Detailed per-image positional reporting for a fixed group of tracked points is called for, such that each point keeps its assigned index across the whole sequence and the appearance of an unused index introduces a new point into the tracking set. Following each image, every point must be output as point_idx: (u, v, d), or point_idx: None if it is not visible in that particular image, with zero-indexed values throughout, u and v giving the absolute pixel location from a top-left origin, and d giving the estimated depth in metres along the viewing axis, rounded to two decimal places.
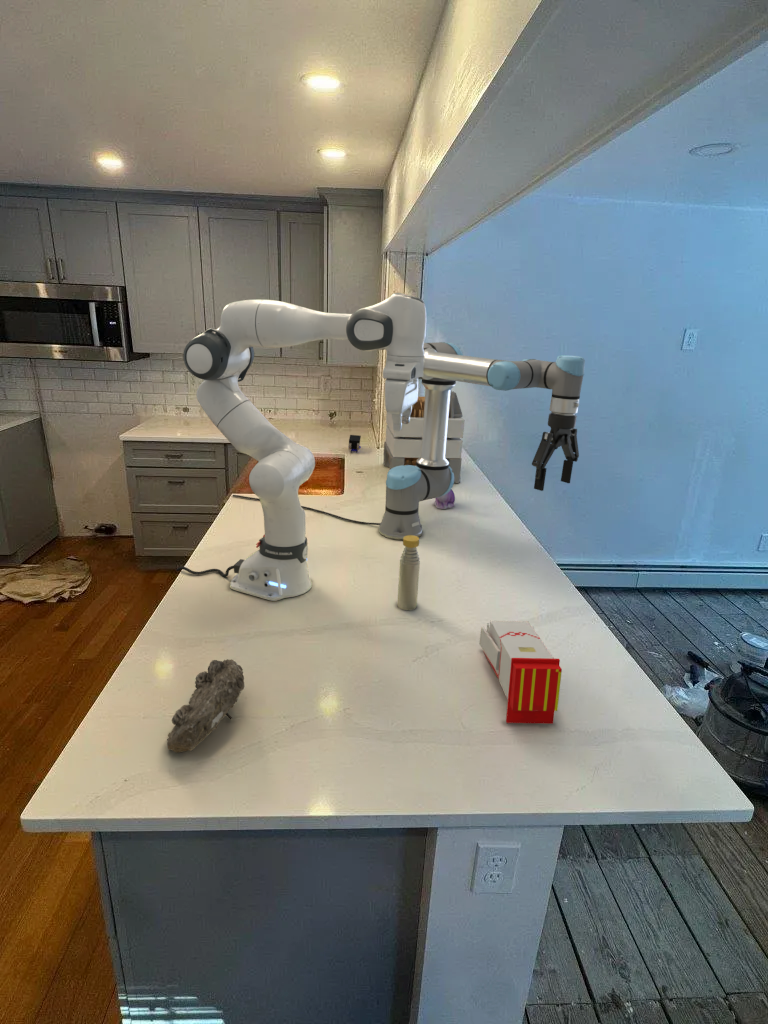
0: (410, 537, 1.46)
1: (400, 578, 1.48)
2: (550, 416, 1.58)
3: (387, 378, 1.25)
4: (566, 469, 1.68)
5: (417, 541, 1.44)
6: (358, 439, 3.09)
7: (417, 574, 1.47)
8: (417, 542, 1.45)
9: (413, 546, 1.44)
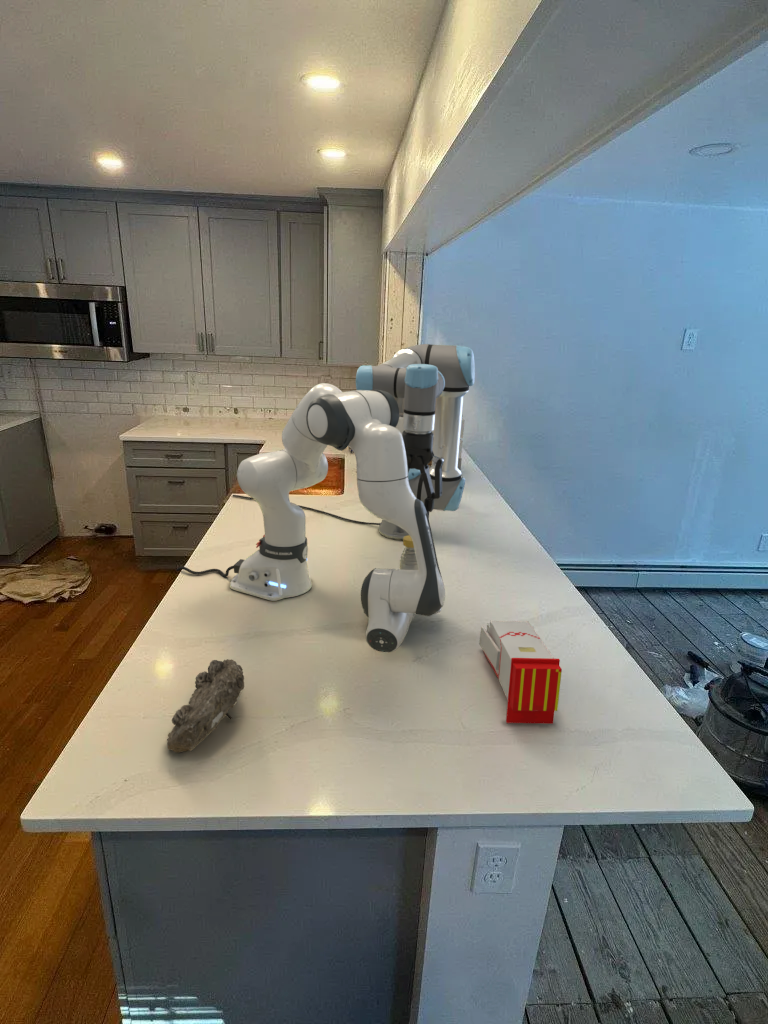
0: (410, 537, 1.46)
1: None
2: (428, 437, 1.34)
3: None
4: None
5: None
6: None
7: None
8: None
9: (413, 546, 1.44)
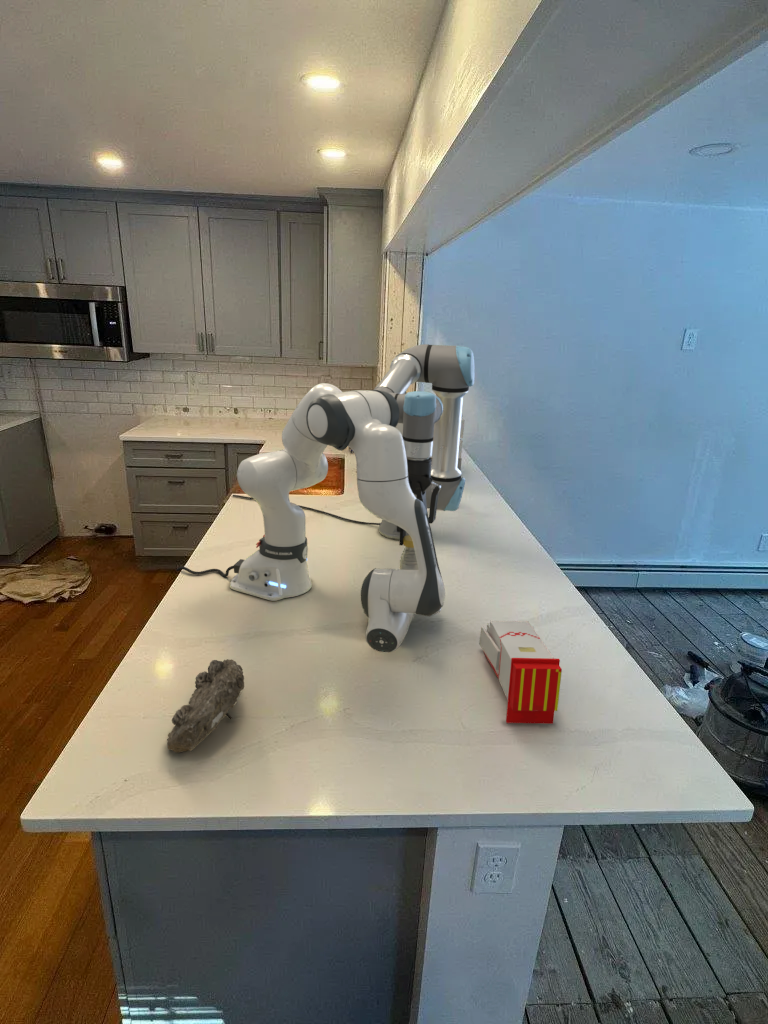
0: (410, 537, 1.46)
1: None
2: (427, 464, 1.36)
3: None
4: None
5: None
6: None
7: None
8: None
9: (413, 546, 1.44)
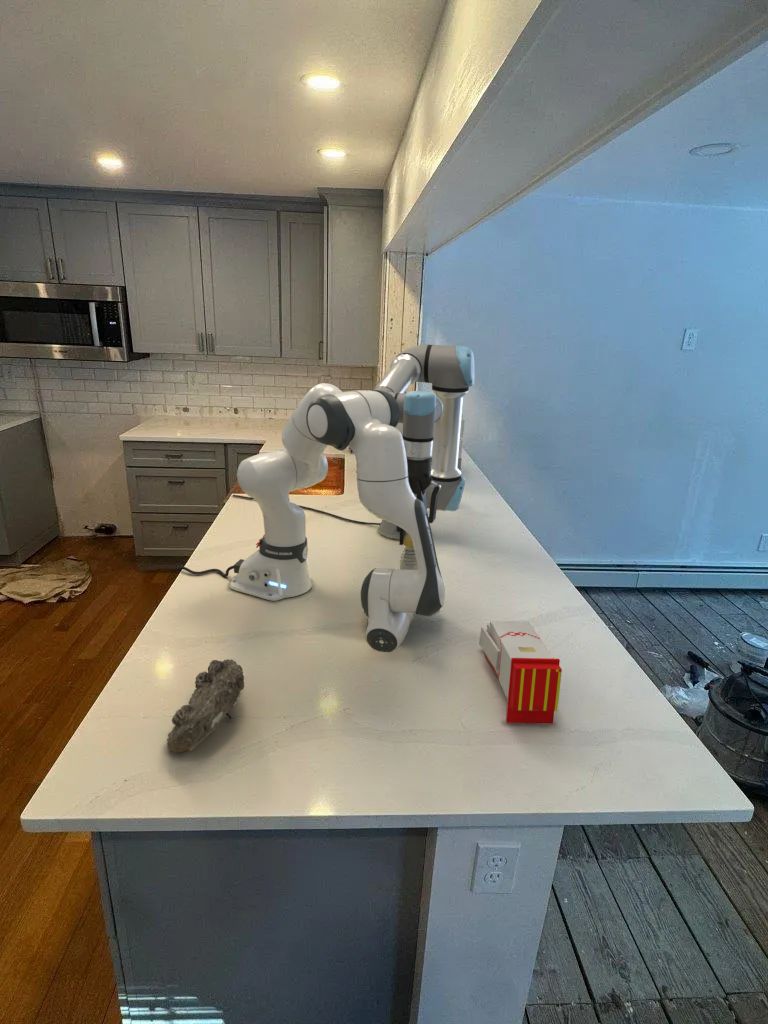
0: (409, 538, 1.45)
1: None
2: (427, 463, 1.36)
3: None
4: None
5: None
6: None
7: None
8: None
9: None
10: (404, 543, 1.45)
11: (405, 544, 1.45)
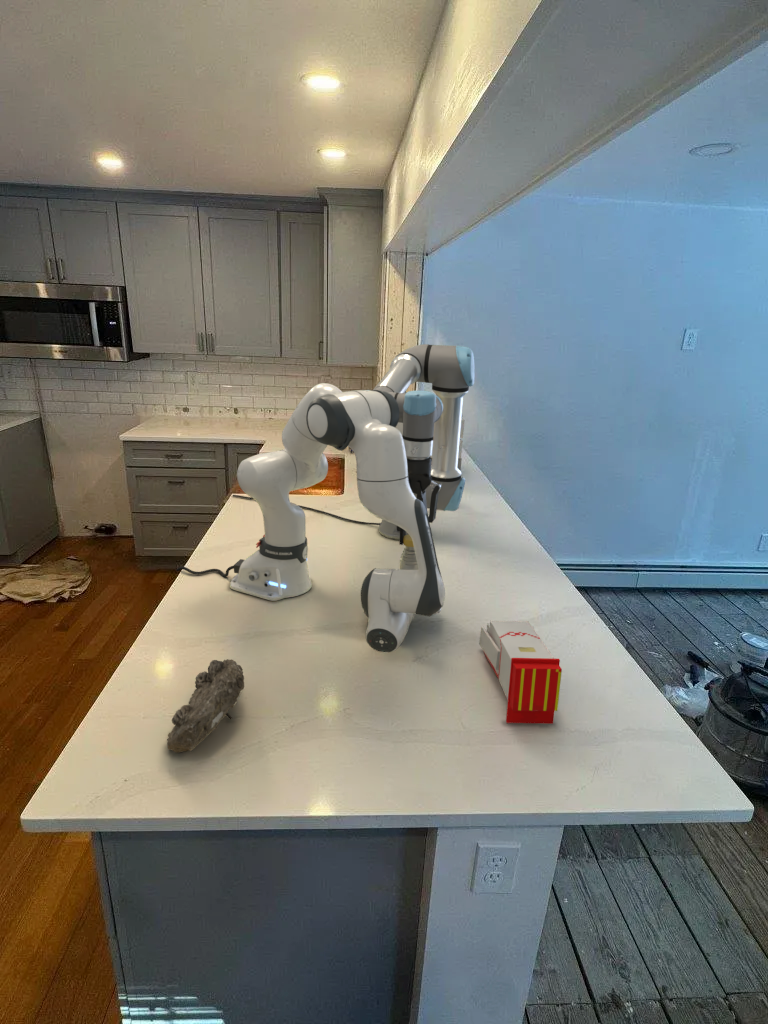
0: None
1: None
2: (427, 463, 1.36)
3: None
4: None
5: None
6: None
7: None
8: None
9: None
10: None
11: None
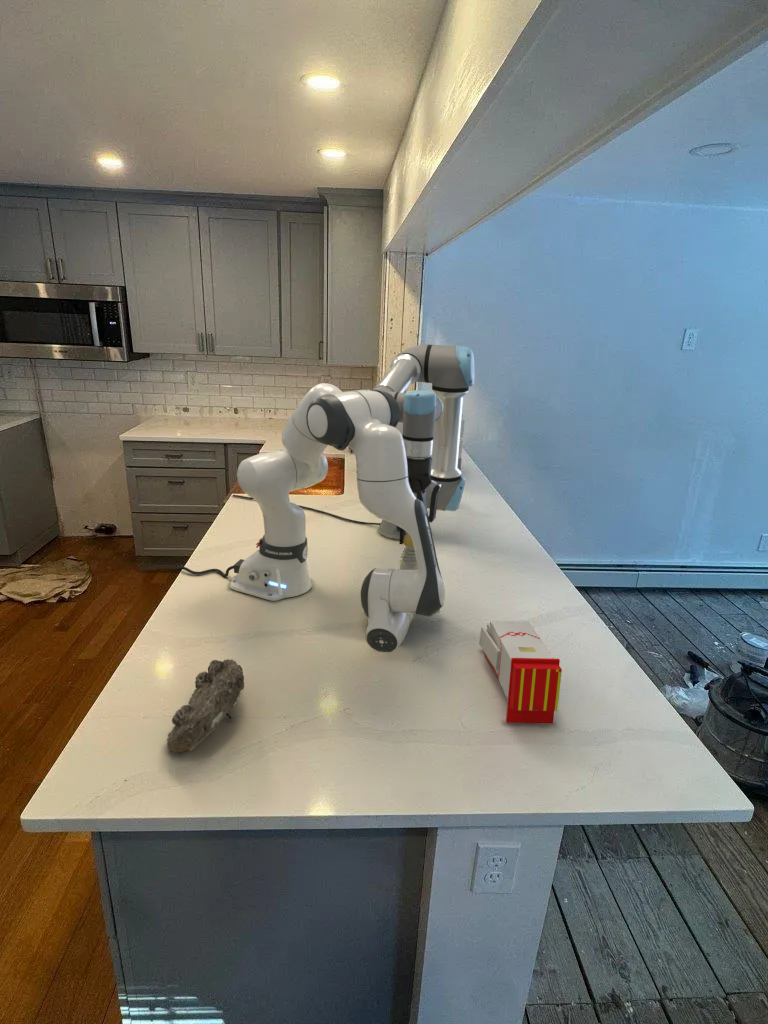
0: None
1: None
2: (427, 462, 1.36)
3: None
4: None
5: (410, 541, 1.44)
6: None
7: None
8: (410, 542, 1.44)
9: (405, 544, 1.44)
10: None
11: None
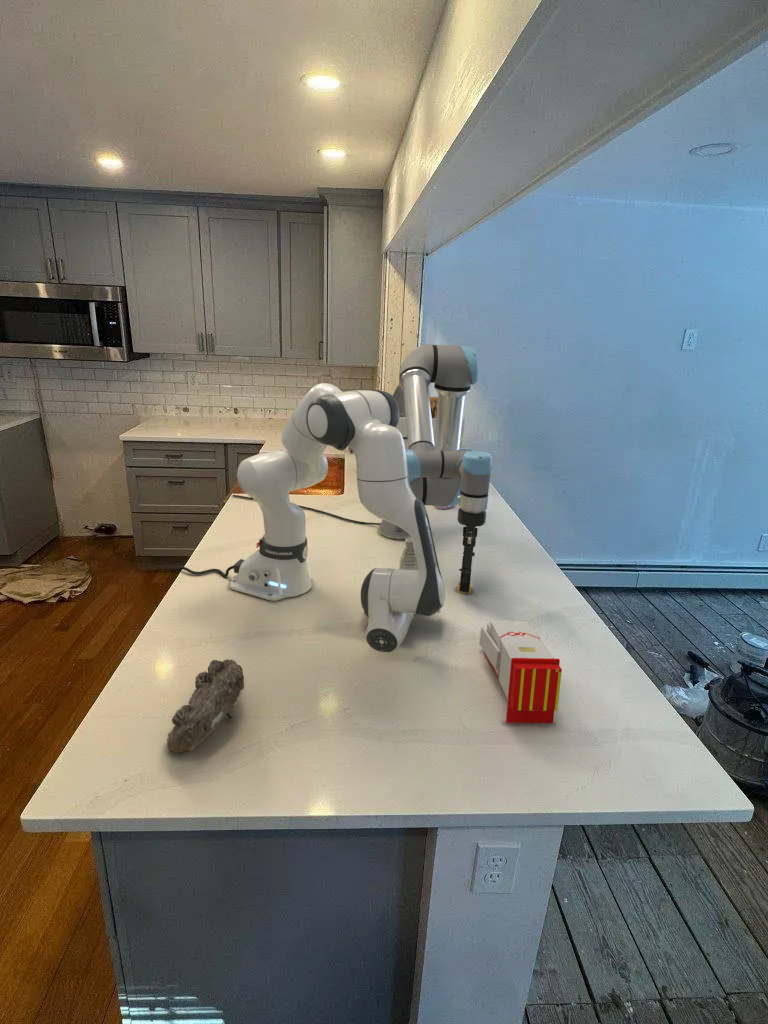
0: None
1: None
2: None
3: None
4: None
5: (471, 586, 1.61)
6: None
7: None
8: None
9: (470, 591, 1.60)
10: None
11: None
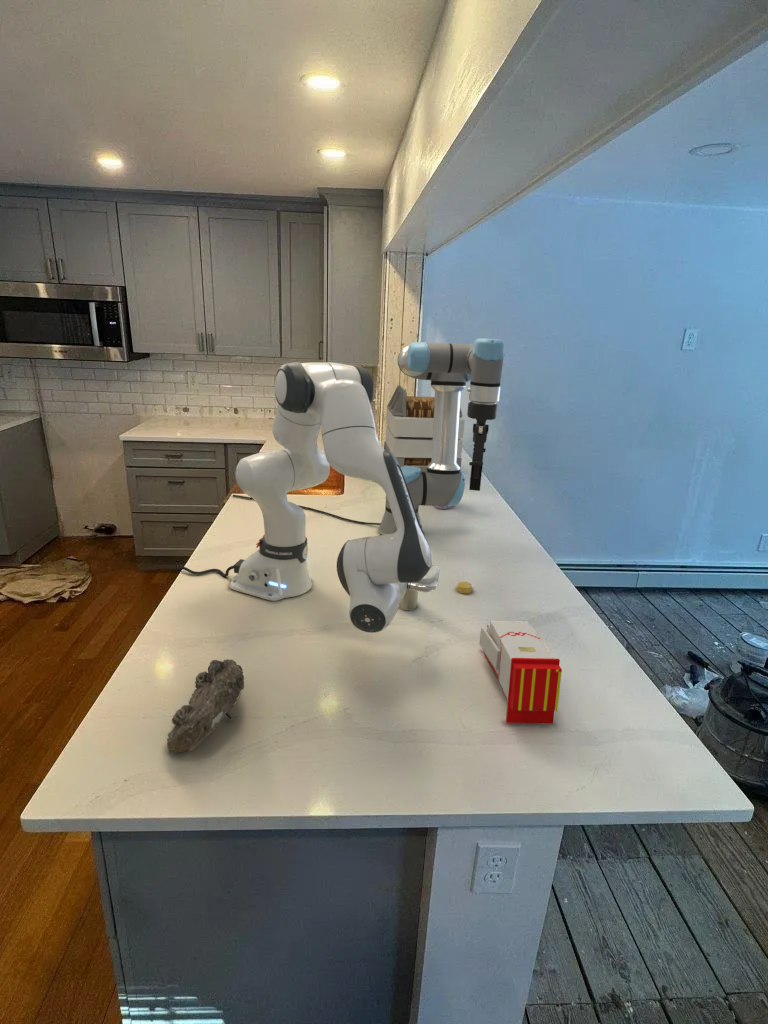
0: (463, 584, 1.61)
1: None
2: None
3: None
4: None
5: (471, 586, 1.61)
6: None
7: None
8: None
9: (470, 591, 1.60)
10: None
11: None
